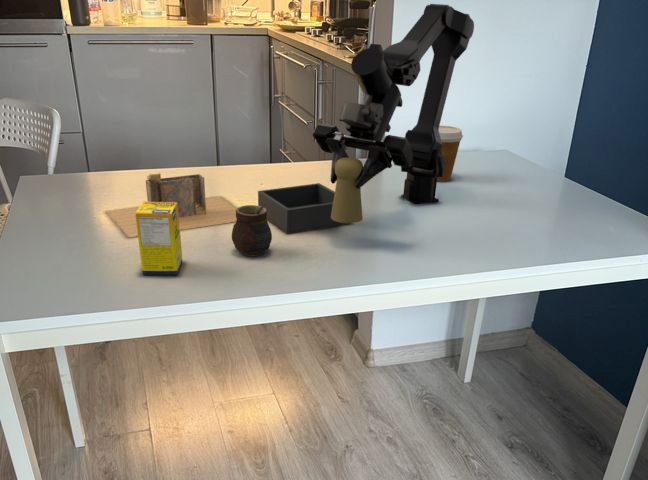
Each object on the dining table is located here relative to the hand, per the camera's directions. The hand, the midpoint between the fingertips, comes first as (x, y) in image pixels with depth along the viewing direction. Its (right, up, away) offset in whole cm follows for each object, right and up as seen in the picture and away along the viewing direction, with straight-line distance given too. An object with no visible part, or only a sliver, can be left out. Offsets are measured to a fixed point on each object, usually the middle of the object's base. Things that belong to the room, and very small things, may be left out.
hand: (344, 184), depth 122 cm
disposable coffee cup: (+25, +13, +48) cm, 56 cm away
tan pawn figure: (+1, -5, +4) cm, 7 cm away
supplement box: (-31, -16, -6) cm, 36 cm away
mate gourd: (-17, -12, +1) cm, 21 cm away
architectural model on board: (-34, -2, +17) cm, 38 cm away
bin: (-8, -2, +18) cm, 20 cm away
